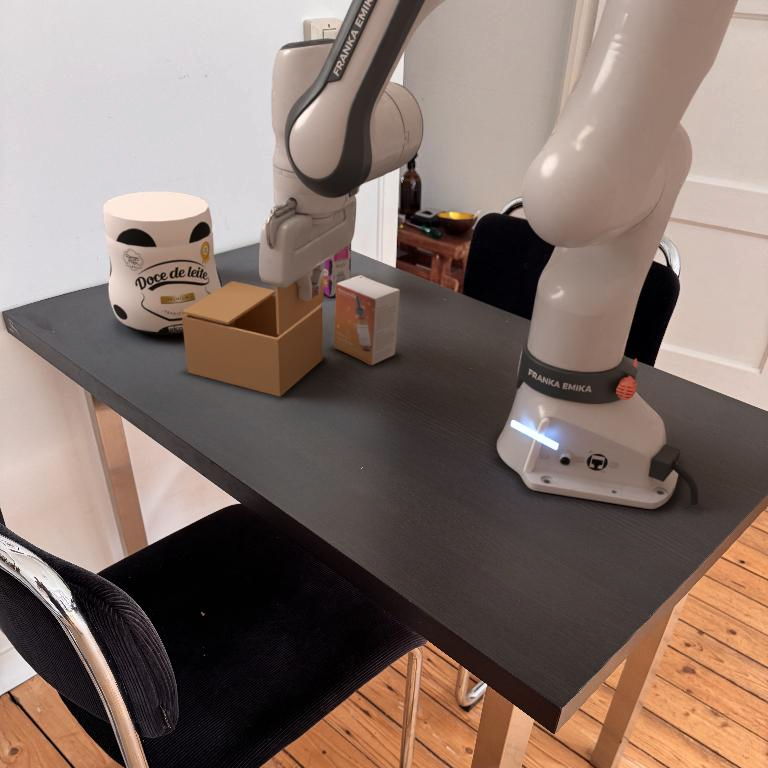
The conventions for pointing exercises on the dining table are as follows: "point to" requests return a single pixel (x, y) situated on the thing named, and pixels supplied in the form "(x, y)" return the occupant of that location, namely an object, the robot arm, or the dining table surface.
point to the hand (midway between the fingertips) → (309, 297)
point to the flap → (294, 305)
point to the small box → (366, 319)
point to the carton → (249, 340)
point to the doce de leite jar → (158, 258)
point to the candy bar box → (337, 270)
